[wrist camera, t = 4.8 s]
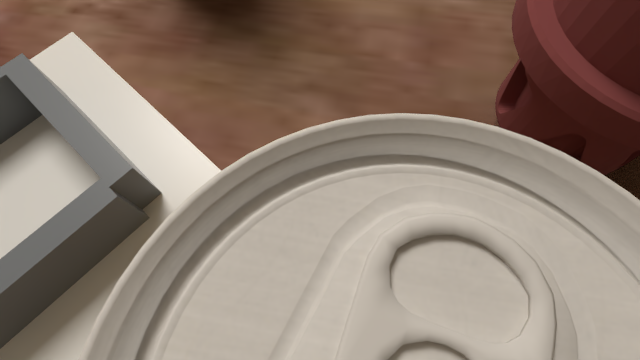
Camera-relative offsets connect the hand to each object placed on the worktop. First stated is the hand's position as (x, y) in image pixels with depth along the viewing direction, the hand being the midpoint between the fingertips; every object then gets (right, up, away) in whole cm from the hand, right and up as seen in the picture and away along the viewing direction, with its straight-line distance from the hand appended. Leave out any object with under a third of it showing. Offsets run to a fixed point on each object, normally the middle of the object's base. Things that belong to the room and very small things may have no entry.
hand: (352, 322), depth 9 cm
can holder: (-16, +2, +10) cm, 18 cm away
